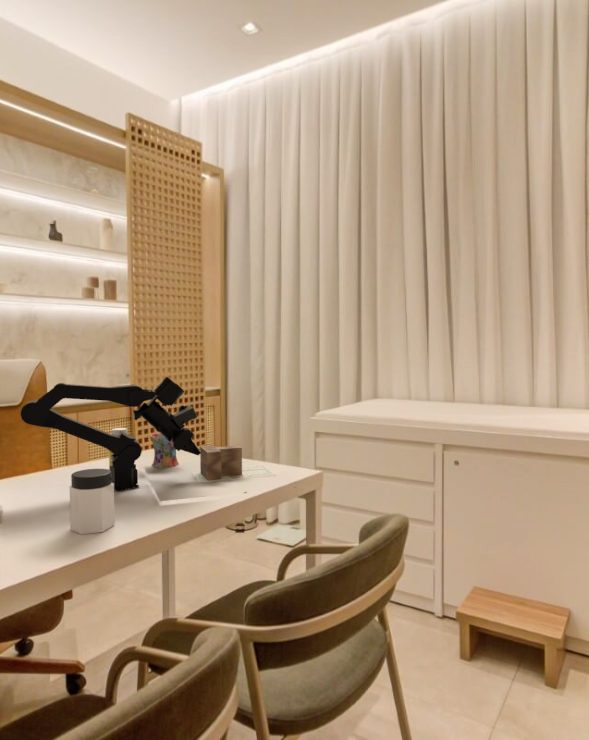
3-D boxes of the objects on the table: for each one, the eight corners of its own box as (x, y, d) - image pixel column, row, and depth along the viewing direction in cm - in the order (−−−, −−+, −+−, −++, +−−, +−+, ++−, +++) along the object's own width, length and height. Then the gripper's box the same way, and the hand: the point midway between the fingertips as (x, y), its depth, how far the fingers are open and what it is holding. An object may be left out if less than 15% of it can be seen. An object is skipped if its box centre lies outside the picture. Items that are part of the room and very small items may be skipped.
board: (199, 486, 150) (199, 482, 150) (191, 475, 162) (191, 472, 162) (276, 478, 158) (276, 475, 158) (262, 469, 170) (262, 466, 170)
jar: (120, 527, 116) (119, 472, 115) (84, 537, 110) (83, 479, 109) (100, 518, 122) (99, 466, 121) (65, 527, 116) (63, 472, 116)
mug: (175, 471, 168) (174, 437, 167) (146, 471, 168) (145, 437, 168) (185, 463, 180) (185, 431, 179) (158, 462, 180) (158, 431, 180)
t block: (207, 480, 152) (207, 452, 152) (200, 472, 161) (200, 446, 161) (245, 476, 156) (244, 449, 156) (236, 469, 165) (235, 443, 165)
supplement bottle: (132, 470, 169) (131, 429, 169) (109, 472, 167) (109, 431, 166) (130, 465, 176) (129, 426, 175) (108, 467, 173) (107, 428, 173)
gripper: (185, 400, 144) (226, 438, 149) (174, 394, 162) (211, 428, 166) (155, 431, 142) (198, 469, 146) (148, 422, 159) (186, 456, 164)
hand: (199, 454), depth 156 cm, fingers closed
